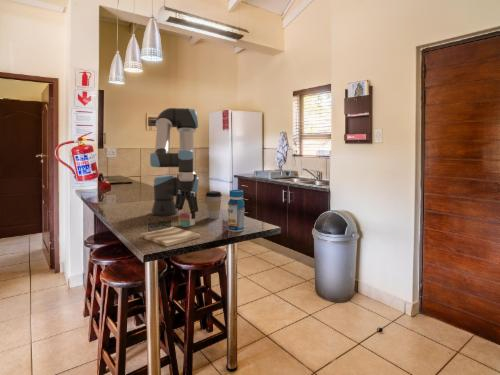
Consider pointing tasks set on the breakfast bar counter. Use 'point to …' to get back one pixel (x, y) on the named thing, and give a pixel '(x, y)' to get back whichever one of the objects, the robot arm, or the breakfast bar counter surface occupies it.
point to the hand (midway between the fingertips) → (186, 223)
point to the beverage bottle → (236, 211)
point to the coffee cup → (213, 204)
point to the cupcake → (185, 218)
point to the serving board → (170, 236)
